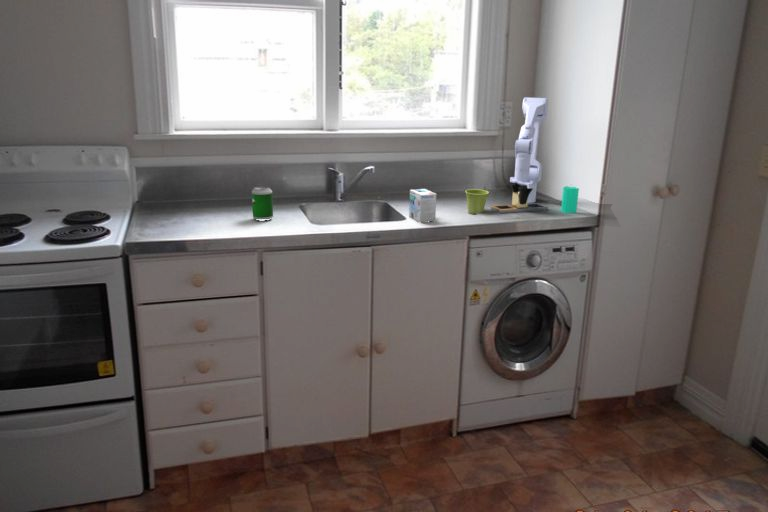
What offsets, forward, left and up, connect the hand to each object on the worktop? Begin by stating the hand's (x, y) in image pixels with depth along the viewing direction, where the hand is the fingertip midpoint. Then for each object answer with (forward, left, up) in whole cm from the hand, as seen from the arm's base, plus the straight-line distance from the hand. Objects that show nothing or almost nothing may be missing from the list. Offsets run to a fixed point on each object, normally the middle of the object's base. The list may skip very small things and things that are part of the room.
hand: (519, 202), depth 266 cm
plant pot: (-3, -18, -4) cm, 19 cm away
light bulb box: (+1, -43, -4) cm, 43 cm away
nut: (0, 0, -2) cm, 2 cm away
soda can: (-15, -101, -4) cm, 102 cm away
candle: (+8, +18, -4) cm, 20 cm away
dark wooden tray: (0, 0, -4) cm, 4 cm away
